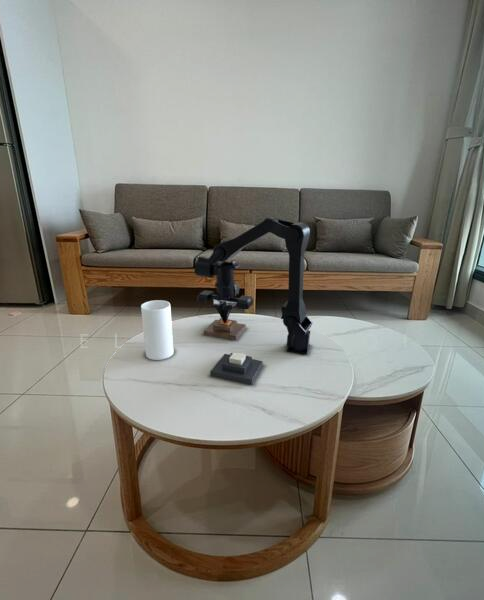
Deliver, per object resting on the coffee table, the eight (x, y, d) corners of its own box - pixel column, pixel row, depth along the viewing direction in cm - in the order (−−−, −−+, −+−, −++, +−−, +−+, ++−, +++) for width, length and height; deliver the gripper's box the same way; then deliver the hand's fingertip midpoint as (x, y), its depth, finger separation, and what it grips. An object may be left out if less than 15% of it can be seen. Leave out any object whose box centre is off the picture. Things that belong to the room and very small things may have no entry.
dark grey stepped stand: (262, 365, 94) (263, 355, 93) (251, 385, 85) (252, 373, 84) (224, 358, 97) (224, 348, 96) (210, 376, 88) (210, 365, 87)
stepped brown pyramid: (245, 328, 117) (245, 319, 116) (235, 340, 108) (236, 331, 107) (215, 323, 121) (215, 315, 119) (203, 334, 112) (203, 325, 111)
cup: (157, 363, 94) (152, 312, 88) (140, 353, 99) (135, 305, 93) (179, 352, 100) (176, 304, 95) (162, 344, 105) (158, 298, 99)
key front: (245, 359, 91) (245, 354, 91) (241, 366, 88) (241, 360, 87) (233, 357, 92) (233, 351, 92) (229, 363, 89) (229, 358, 88)
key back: (231, 325, 115) (231, 320, 114) (228, 329, 112) (228, 324, 111) (222, 323, 116) (222, 319, 115) (218, 327, 113) (218, 323, 112)
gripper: (258, 276, 112) (257, 317, 118) (210, 270, 118) (211, 310, 123) (248, 285, 102) (247, 329, 108) (195, 279, 108) (197, 321, 113)
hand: (225, 322), depth 113 cm, fingers closed, pressing on key back
